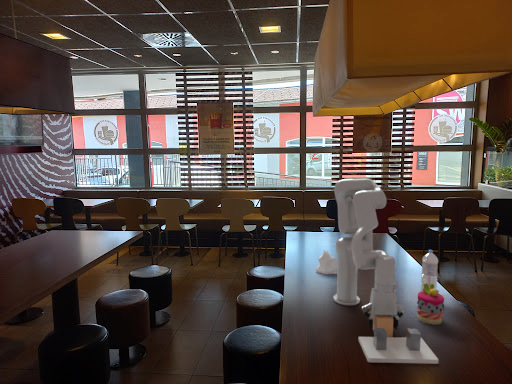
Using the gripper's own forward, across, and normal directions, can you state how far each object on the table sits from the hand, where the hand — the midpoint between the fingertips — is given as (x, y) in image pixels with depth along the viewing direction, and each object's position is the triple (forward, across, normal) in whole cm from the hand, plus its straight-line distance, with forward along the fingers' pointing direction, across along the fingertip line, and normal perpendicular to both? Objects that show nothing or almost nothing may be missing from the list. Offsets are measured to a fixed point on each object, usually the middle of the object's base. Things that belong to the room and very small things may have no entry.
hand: (382, 327), depth 141 cm
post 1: (+2, +5, +13) cm, 14 cm away
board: (+2, -1, +13) cm, 13 cm away
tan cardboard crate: (+2, 0, 0) cm, 2 cm away
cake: (+3, -24, -12) cm, 27 cm away
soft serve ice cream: (+2, +11, -70) cm, 71 cm away
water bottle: (+2, -32, -32) cm, 45 cm away
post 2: (+2, -7, +13) cm, 15 cm away
